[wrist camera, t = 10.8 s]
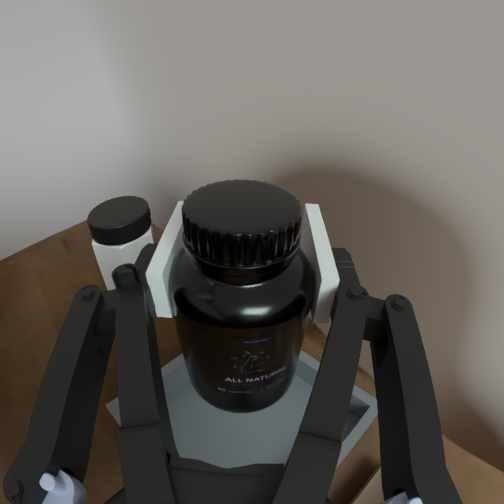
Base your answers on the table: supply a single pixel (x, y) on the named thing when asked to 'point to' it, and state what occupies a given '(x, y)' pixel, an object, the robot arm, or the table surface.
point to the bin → (249, 420)
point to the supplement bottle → (241, 293)
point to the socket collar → (370, 490)
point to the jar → (119, 233)
